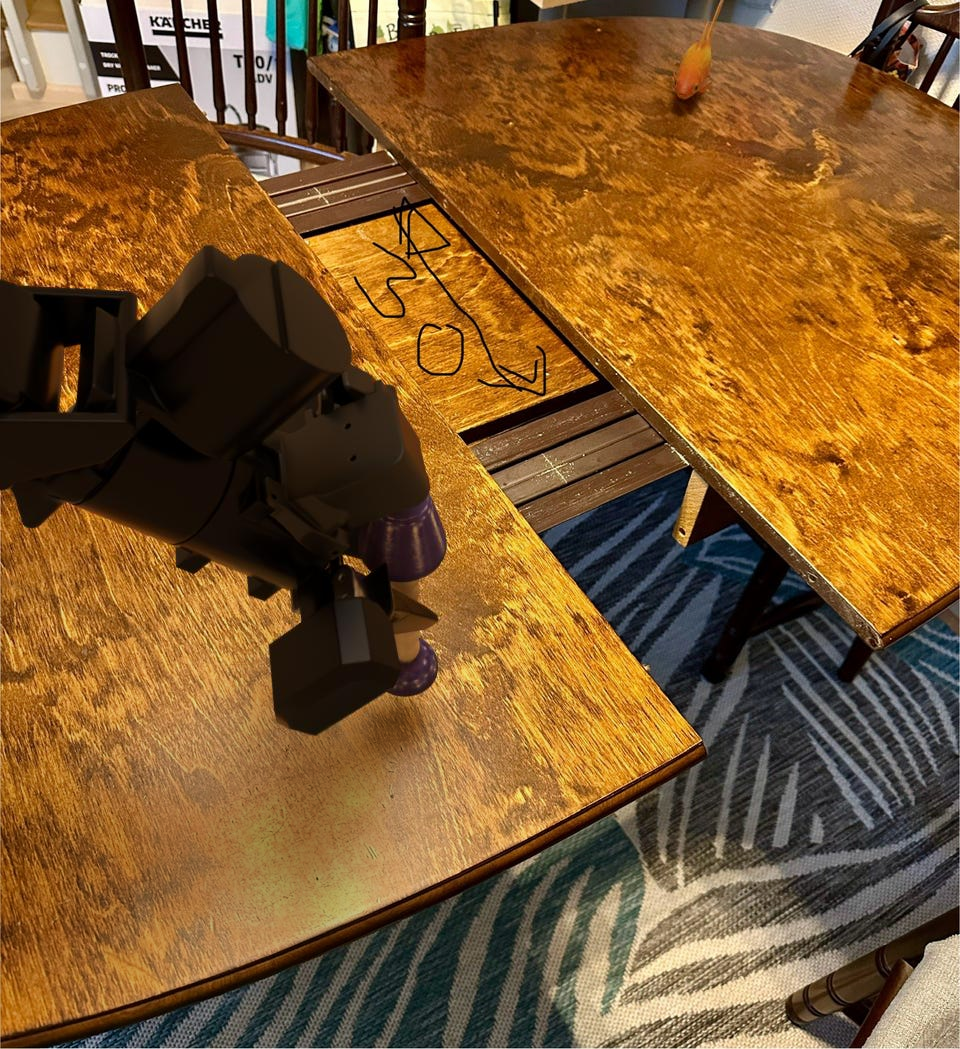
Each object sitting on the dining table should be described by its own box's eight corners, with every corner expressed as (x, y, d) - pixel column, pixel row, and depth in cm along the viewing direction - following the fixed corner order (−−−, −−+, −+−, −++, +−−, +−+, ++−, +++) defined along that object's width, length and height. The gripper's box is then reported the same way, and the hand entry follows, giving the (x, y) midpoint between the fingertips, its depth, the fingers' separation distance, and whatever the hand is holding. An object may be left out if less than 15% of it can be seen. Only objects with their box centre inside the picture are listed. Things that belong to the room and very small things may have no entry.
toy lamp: (388, 714, 55) (391, 550, 42) (347, 659, 57) (338, 487, 44) (451, 675, 57) (473, 508, 44) (410, 623, 59) (419, 449, 46)
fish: (694, 131, 117) (715, 55, 109) (654, 121, 118) (671, 44, 110) (729, 53, 129) (750, -21, 121) (692, 44, 130) (710, -31, 122)
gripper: (344, 561, 31) (585, 672, 42) (297, 247, 42) (497, 398, 53) (151, 700, 36) (414, 769, 47) (155, 383, 47) (366, 498, 58)
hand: (426, 593), depth 51 cm, fingers closed on toy lamp, 4 cm apart
